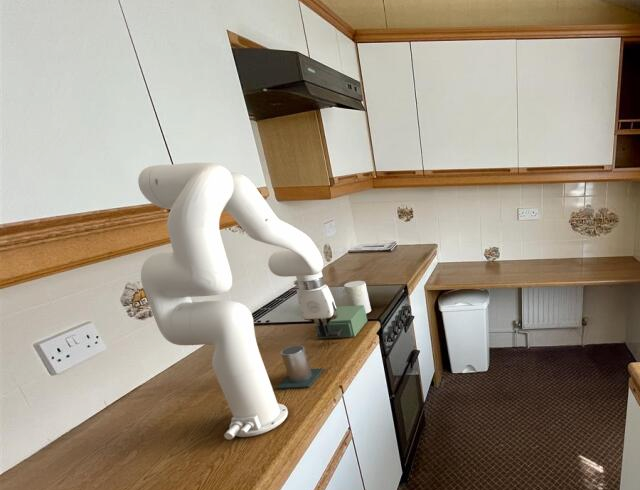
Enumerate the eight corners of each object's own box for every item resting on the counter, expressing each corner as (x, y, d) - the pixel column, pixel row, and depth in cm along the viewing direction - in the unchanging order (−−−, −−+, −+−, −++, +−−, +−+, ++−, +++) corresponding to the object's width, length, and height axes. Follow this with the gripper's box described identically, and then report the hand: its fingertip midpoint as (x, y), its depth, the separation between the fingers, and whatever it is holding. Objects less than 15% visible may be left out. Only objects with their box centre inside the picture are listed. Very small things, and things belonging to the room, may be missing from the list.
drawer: (346, 341, 139) (343, 329, 137) (312, 343, 140) (308, 330, 138) (363, 321, 156) (361, 309, 154) (332, 322, 156) (329, 311, 154)
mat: (308, 387, 115) (308, 386, 114) (277, 389, 115) (276, 387, 114) (323, 370, 124) (322, 368, 123) (294, 371, 124) (293, 369, 123)
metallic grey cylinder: (306, 382, 116) (298, 354, 113) (286, 383, 116) (276, 355, 113) (315, 371, 122) (307, 344, 118) (295, 372, 122) (287, 345, 118)
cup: (346, 314, 165) (339, 286, 160) (357, 307, 173) (351, 280, 167) (364, 315, 164) (357, 287, 158) (374, 308, 171) (369, 281, 166)
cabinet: (354, 336, 145) (350, 319, 142) (318, 338, 145) (313, 321, 142) (367, 320, 158) (364, 305, 156) (334, 322, 158) (330, 306, 156)
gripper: (282, 288, 126) (299, 341, 134) (330, 286, 126) (344, 338, 134) (293, 280, 133) (309, 331, 141) (339, 278, 132) (351, 329, 141)
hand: (326, 334), depth 137 cm, fingers closed
